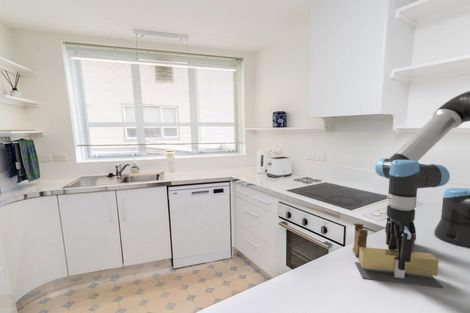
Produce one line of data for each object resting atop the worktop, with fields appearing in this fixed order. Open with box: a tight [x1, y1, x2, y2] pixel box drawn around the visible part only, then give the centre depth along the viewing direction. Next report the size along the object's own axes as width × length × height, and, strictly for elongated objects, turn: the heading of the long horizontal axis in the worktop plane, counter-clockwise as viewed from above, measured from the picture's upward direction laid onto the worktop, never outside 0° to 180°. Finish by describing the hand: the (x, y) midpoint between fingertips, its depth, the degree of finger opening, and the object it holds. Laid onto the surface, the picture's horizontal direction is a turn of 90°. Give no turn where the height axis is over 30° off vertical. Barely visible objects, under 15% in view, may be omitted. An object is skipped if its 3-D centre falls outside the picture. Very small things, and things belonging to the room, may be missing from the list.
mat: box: [354, 261, 444, 289], centre depth 78 cm, size 23×9×1 cm, turn 77°
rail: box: [358, 246, 440, 277], centre depth 78 cm, size 22×4×6 cm, turn 77°
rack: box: [351, 222, 417, 258], centre depth 89 cm, size 20×6×11 cm, turn 77°
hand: (395, 272), depth 78 cm, fingers open, 4 cm apart
